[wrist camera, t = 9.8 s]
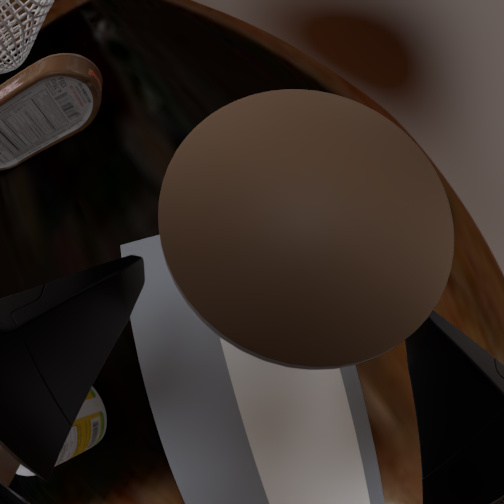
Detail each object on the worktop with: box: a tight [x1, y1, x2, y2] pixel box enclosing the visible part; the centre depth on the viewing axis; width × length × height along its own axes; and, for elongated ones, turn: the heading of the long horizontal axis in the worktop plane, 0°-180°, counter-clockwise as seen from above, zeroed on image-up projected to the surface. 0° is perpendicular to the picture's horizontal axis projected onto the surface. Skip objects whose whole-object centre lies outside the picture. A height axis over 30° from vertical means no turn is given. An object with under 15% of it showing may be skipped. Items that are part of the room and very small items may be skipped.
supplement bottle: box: [16, 386, 107, 476], centre depth 10 cm, size 5×5×10 cm
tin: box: [0, 53, 102, 171], centre depth 17 cm, size 15×3×8 cm, turn 109°
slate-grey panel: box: [120, 235, 385, 504], centre depth 15 cm, size 22×12×1 cm, turn 15°
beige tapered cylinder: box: [158, 89, 454, 370], centre depth 10 cm, size 5×5×13 cm
